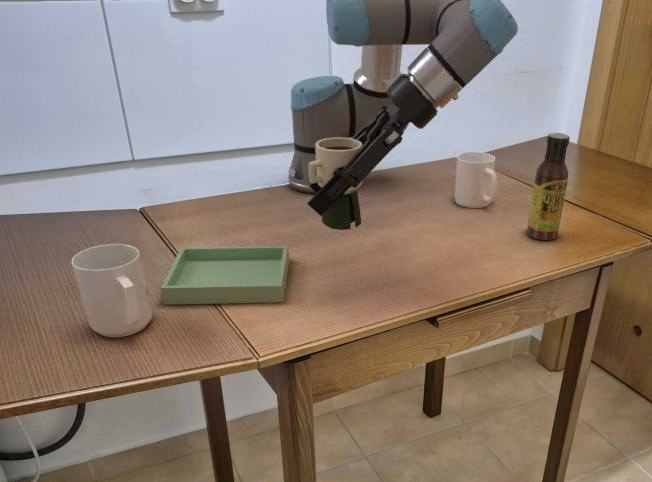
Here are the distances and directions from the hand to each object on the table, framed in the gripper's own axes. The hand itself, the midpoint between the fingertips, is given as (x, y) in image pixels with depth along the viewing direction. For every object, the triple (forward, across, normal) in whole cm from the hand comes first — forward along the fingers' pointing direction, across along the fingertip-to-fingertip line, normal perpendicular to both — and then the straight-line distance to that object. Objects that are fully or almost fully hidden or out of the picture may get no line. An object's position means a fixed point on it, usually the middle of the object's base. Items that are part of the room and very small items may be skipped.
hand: (315, 200), depth 100 cm
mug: (+31, -12, +9) cm, 34 cm away
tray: (+21, +3, 0) cm, 22 cm away
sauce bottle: (-20, +21, -42) cm, 51 cm away
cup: (-13, +39, -35) cm, 54 cm away
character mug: (0, 0, -6) cm, 6 cm away
